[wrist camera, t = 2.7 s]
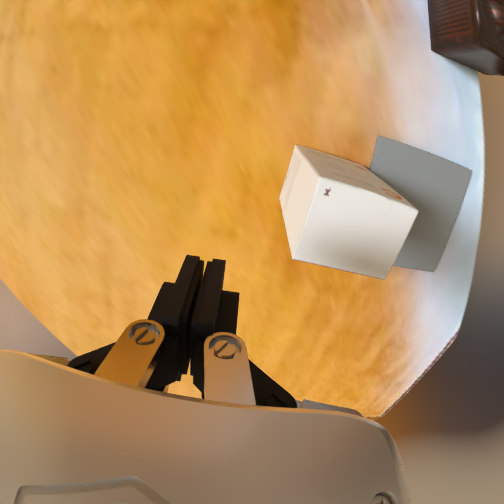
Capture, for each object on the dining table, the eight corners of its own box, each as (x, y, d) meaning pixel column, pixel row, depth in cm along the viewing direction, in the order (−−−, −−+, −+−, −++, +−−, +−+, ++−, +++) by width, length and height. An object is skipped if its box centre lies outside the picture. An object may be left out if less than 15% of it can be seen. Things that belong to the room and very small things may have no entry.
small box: (278, 198, 32) (288, 260, 20) (294, 143, 29) (318, 173, 17) (345, 216, 33) (386, 282, 21) (364, 165, 29) (421, 209, 18)
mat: (377, 135, 28) (380, 136, 27) (468, 168, 28) (471, 170, 28) (343, 255, 35) (345, 258, 34) (430, 269, 36) (433, 272, 35)
